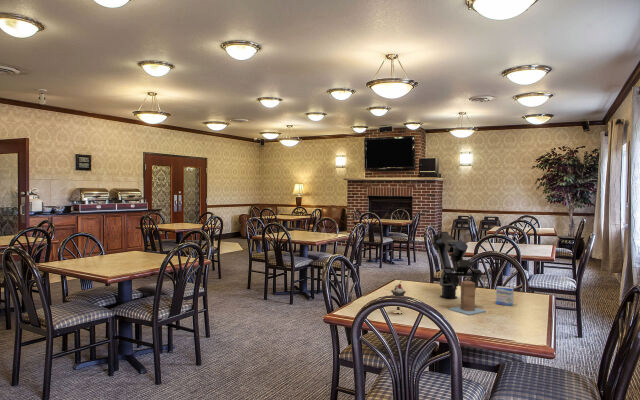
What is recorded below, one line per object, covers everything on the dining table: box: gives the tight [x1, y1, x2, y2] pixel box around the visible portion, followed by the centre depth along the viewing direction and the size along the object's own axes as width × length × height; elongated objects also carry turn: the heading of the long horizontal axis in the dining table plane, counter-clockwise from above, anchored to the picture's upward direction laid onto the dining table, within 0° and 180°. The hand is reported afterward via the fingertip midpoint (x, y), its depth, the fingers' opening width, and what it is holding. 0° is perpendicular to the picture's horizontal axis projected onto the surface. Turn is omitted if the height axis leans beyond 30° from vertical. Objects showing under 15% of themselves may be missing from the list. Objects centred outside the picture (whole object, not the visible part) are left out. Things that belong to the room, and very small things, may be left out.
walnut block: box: [460, 280, 476, 311], centre depth 219 cm, size 5×5×13 cm
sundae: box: [390, 281, 406, 311], centre depth 214 cm, size 7×7×15 cm
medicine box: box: [495, 285, 515, 307], centre depth 233 cm, size 8×4×9 cm, turn 62°
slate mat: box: [448, 305, 487, 316], centre depth 219 cm, size 12×12×1 cm
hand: (465, 289), depth 221 cm, fingers open, 9 cm apart
